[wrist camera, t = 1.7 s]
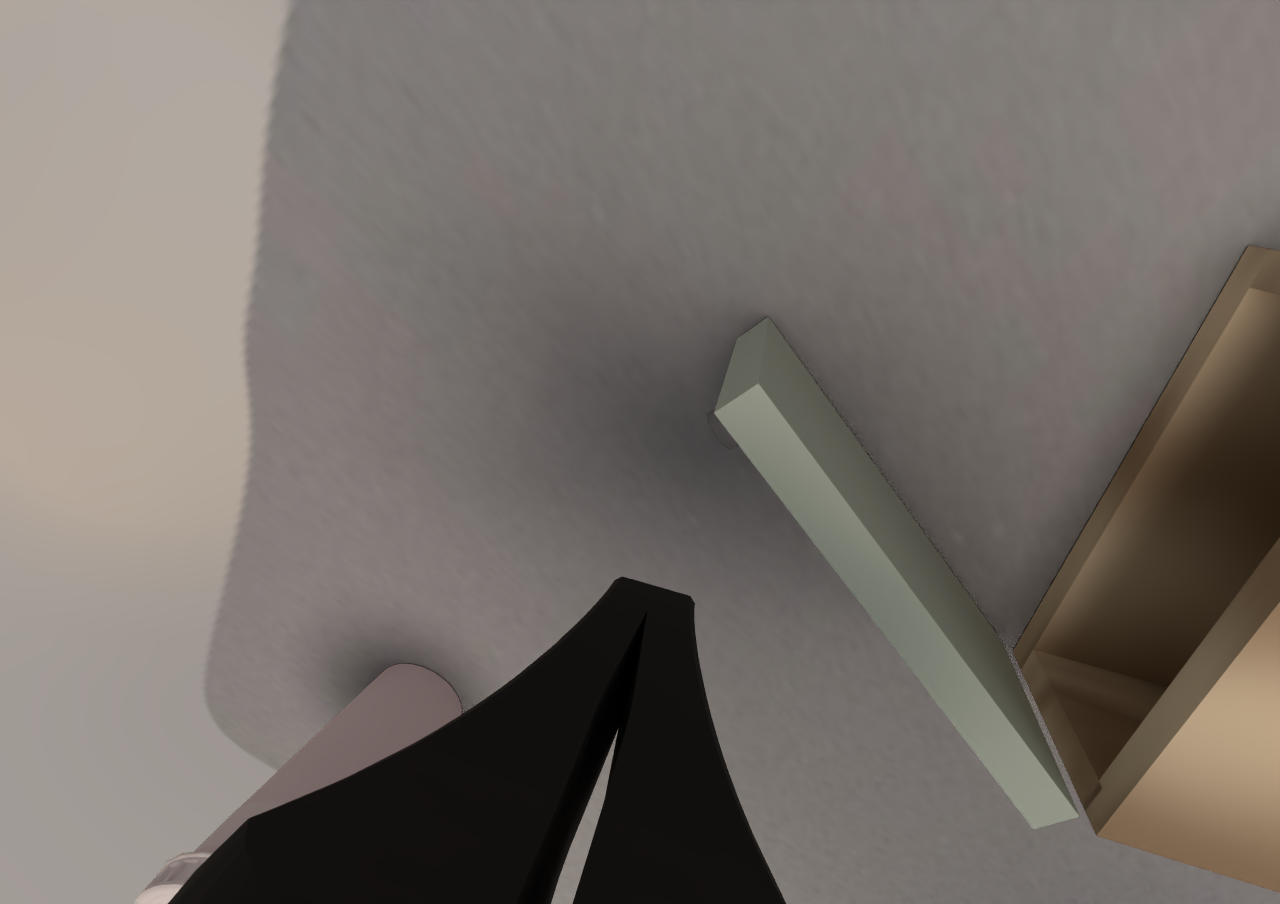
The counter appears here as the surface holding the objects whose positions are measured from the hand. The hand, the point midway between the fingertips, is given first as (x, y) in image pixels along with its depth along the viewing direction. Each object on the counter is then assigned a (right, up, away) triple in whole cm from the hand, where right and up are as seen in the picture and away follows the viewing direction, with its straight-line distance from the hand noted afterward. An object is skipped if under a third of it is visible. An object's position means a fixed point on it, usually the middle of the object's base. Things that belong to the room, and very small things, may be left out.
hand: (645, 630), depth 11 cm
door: (+6, +2, +7) cm, 10 cm away
